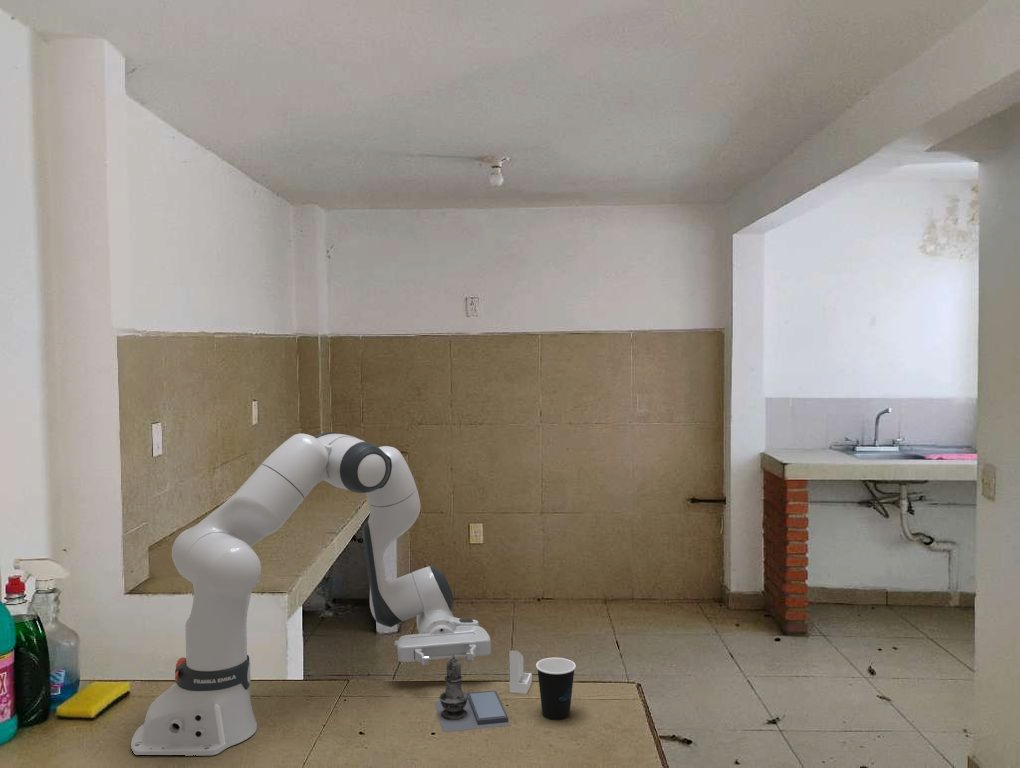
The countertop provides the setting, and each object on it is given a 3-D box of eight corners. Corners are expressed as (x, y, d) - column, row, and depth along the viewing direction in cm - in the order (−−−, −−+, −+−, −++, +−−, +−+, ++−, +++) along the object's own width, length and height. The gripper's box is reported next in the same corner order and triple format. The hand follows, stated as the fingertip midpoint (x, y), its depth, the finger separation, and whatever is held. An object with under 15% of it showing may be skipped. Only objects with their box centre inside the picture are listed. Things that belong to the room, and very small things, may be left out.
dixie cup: (574, 729, 165) (574, 673, 164) (533, 726, 166) (533, 671, 166) (577, 711, 173) (577, 658, 172) (538, 708, 174) (538, 656, 173)
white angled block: (505, 694, 175) (509, 650, 179) (513, 700, 184) (517, 658, 188) (522, 695, 175) (526, 651, 179) (530, 701, 183) (533, 659, 187)
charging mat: (442, 737, 162) (442, 732, 162) (434, 705, 176) (434, 701, 175) (509, 730, 164) (509, 725, 164) (496, 700, 178) (496, 695, 178)
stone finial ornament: (474, 712, 170) (474, 653, 169) (456, 723, 165) (455, 663, 165) (451, 705, 173) (451, 647, 173) (433, 715, 169) (432, 656, 168)
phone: (477, 724, 165) (477, 720, 165) (467, 697, 177) (467, 692, 177) (508, 722, 166) (508, 717, 166) (495, 694, 179) (495, 690, 179)
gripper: (393, 626, 189) (397, 648, 175) (484, 619, 193) (495, 640, 179) (393, 654, 189) (398, 678, 176) (484, 646, 193) (495, 670, 180)
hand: (448, 659), depth 178 cm, fingers open, 8 cm apart
